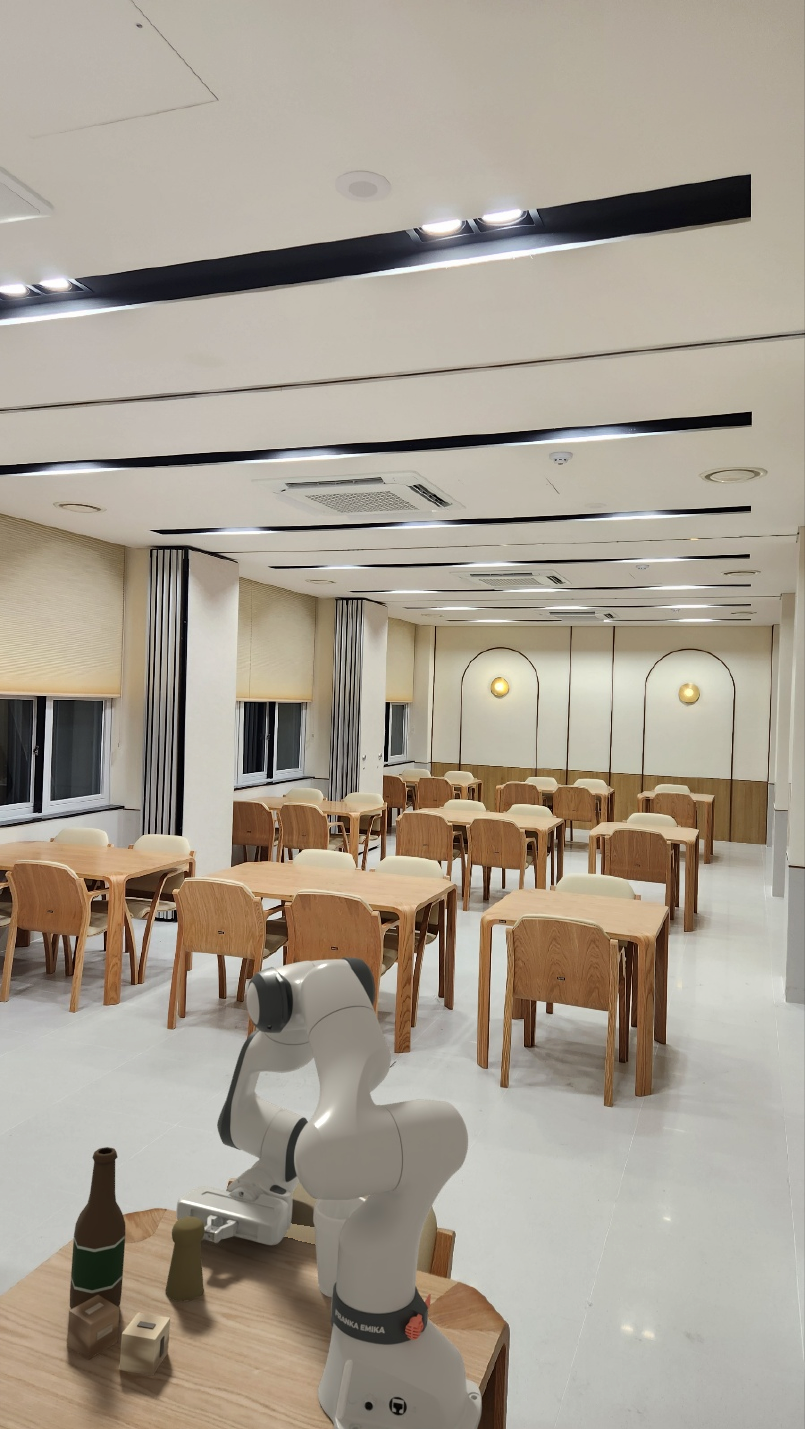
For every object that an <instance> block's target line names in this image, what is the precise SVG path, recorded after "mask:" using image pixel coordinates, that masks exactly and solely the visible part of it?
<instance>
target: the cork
mask: <svg viewBox="0 0 805 1429" xmlns="http://www.w3.org/2000/svg"><path fill="white" fill-rule="evenodd" d="M204 1233H205V1228H204V1224H203V1222H202V1221H201V1219H199V1218H197V1217H191V1216H190V1217H184V1218H181V1219H179V1220H176V1222H175V1223H174V1225H173V1227H172V1230H171V1239H172V1242H173V1243H174V1244H173V1250H172V1255H171V1260H170V1266H169V1270H168V1276H167V1281H166V1285H165V1296H166V1297H167V1298H168V1299H170V1300H172V1301H175V1302H188V1301H189V1302H190V1301H192V1300H196V1299H197V1298H198V1297H200V1296H201V1295H202V1294H203V1291H204V1278H203V1275H204V1274H203V1261H202V1258H203V1257H202V1248H201V1247H202V1246H201V1245H202V1244H201V1242H202V1241H203V1237H204Z"/></svg>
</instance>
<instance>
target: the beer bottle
mask: <svg viewBox="0 0 805 1429" xmlns="http://www.w3.org/2000/svg"><path fill="white" fill-rule="evenodd" d="M92 1159H93V1169H92V1176H91V1184H90V1191H89V1195H88V1200H87V1203H86V1205H85V1206H84V1207H83V1209H82V1211H80V1213H79V1215H78V1218H77V1220H76V1223H75V1226H74V1234H73V1242H72V1256H71V1257H72V1259H71V1269H70V1270H71V1272H70V1285H69V1287H70V1288H69V1307H70V1310H71V1309H73V1308H75V1307H77V1306H78V1305H80V1304H82V1303H84V1302H86V1301H87V1300H89V1299H91V1298H93V1297H95V1296H97V1295H99V1296H101V1297H103V1298H104V1299H106V1300H108V1301H109V1302H111V1303H112V1304H114V1305H116V1306H117V1307H119V1308H120V1305H121V1301H122V1293H123V1292H122V1290H123V1277H124V1276H123V1275H124V1263H125V1261H124V1260H125V1245H126V1244H125V1243H126V1221H125V1217H124V1214H123V1212H122V1209H121V1208H120V1206H119V1204H118V1202H117V1198H116V1159H118V1153H117V1151H116V1149H115V1148H112V1147H110V1146H109V1147H108V1146H107V1147H100V1148H98V1149H97V1150H95V1151H94V1152H93V1155H92Z"/></svg>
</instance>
